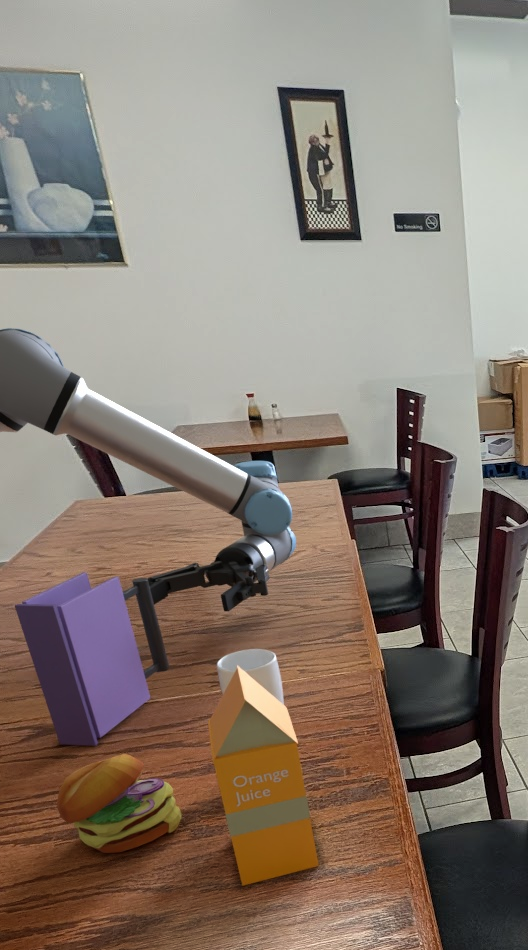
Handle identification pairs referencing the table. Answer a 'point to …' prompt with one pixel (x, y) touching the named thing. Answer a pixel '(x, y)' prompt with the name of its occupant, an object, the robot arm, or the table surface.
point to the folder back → (57, 660)
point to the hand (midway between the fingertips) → (182, 602)
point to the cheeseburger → (117, 805)
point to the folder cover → (112, 649)
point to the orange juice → (261, 782)
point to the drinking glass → (252, 670)
